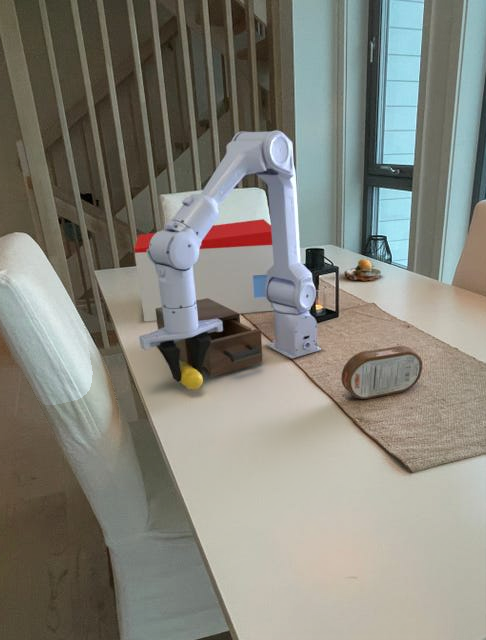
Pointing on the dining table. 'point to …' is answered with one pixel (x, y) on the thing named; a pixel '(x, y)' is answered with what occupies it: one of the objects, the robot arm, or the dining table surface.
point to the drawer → (233, 348)
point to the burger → (363, 271)
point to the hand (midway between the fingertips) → (187, 376)
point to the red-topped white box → (218, 268)
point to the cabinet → (205, 311)
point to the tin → (381, 372)
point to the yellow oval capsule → (190, 376)
